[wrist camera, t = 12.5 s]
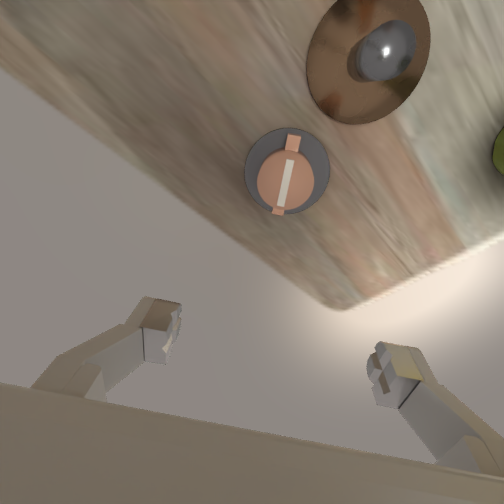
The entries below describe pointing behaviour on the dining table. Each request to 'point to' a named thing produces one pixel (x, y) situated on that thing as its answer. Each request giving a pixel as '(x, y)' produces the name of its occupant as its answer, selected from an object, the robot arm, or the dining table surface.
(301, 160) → the cap
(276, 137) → the pad
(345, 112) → the brown wide round part
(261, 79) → the dining table surface
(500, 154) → the plant pot
